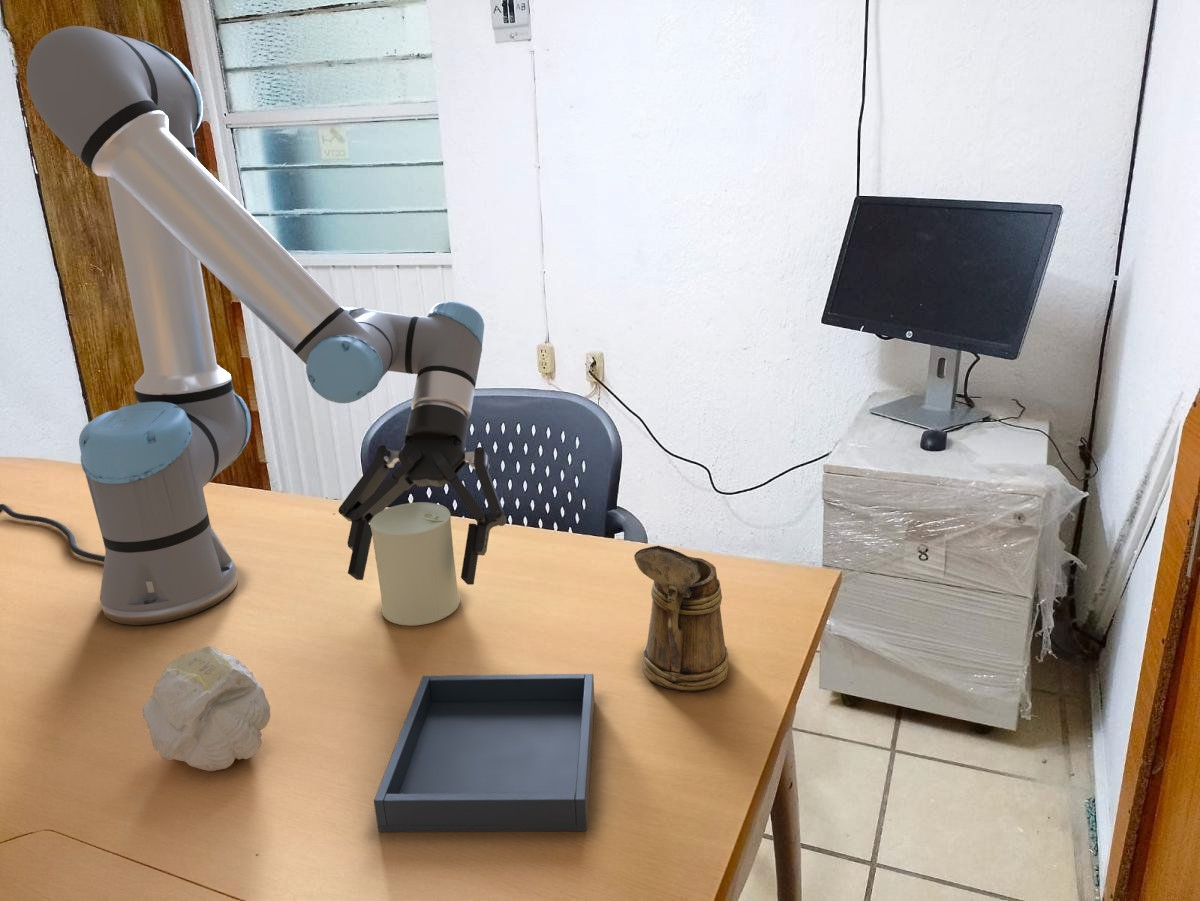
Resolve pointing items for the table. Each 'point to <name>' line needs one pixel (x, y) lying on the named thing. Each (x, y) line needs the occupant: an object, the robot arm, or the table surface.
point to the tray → (492, 756)
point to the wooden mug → (683, 621)
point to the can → (415, 563)
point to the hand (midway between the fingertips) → (410, 579)
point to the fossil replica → (207, 710)
